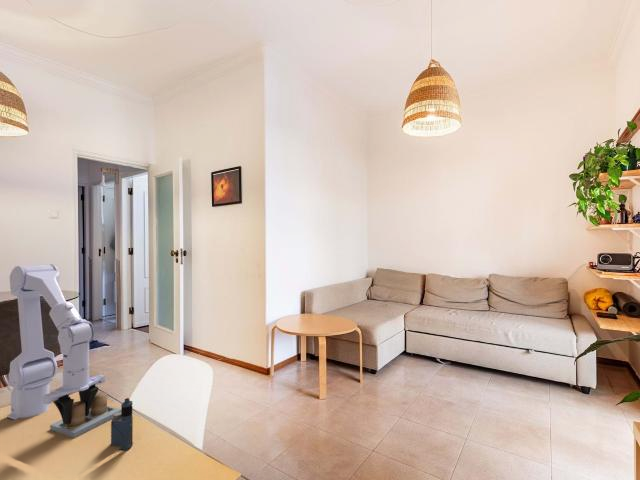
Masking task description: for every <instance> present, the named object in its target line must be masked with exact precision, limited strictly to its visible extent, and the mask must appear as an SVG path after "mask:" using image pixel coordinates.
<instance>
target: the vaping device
mask: <svg viewBox="0 0 640 480" xmlns="http://www.w3.org/2000/svg"><path fill="white" fill-rule="evenodd" d="M120 407H121V408H120V409H121V412H117V413H114V414H113V418H112V419H111V423H110V445H111V447H112V446H114V447H119V449H118V451H123V452H124V451H125V452H126V451H128V450H129V449H131V448H132V446H133V424H134V423H133V422H134V421H133V419H134V417H133V401H132V400H130V398H129V397H128V398H125V399H124V401H123V402H122V403H121V406H120Z"/></svg>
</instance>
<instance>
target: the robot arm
mask: <svg viewBox="0 0 640 480" xmlns="http://www.w3.org/2000/svg"><path fill="white" fill-rule="evenodd" d="M59 281H60V271H59V269H58V267H57V265H55V264H40V265H15V266H14V267H13V269H12V270H11V272H10V274H9V286H10V287H9V288H10V293H11V294H10V295H12V296H15V297H17V308H18V319H19V321H18V322H19V332H20V334H19V335H20V345H21V353H20V354H19V355H18V356H16V357H15V358H14V359H13V360H11V361H10V363H9V372H8V383H9V385H10V386H11V387H12V388H13V389H12V391H11V393H10V413H9V414H7V415H6V417H7V418H9V419H12V420H17V419H20V418H21V419H26V418H32V417H35V416H38V415H42V414H44V413H45V412H47V411H48V410H49V409H50V404H54V406H55V407H56V409H58V412H59V413H60V416H61V420H63V423H64V424H67V425H68V424H71V411H72V405H73V402H75V398H71V396H70V395H73V394H75V393H78V394H79V401H85V416H88V414H89V410H90V407H91V404H92V401H93V399H94V397H95V395H96V394H97V393H98V392H99V387H98V386H97V385H99V384H104V383H106V376H105V375H102V374H98V375H96V376H95V375H94V376H92V377H91V376H90V343H91V342H92V341H93V340H94V338H95V329H94V325H93V324H92V322H91V321H89V320H86V319H85V318H82V316H81V315H80V313H79V312H78V310H77V307H75V305H74V303H72V302H68V301H67V300H66V298H65V296H64V294H63V291H62V289H61V287H60V284H59ZM41 296H42V298H43V299H44V300H45V302H46V303H47V305H48V306H49V307H50V308H51V309H50V310H49V313H48V315H49V317H50V318H51V320H52V322H53V324H54V325H55V327H56V329H57V331H58V335H57V340H58V341H57V342H58V344H59V348H60V350H59V351H60V354H61V355H62V386H60V387H59V388H56V389H55V390H53V391H50V382H52V381H53V378H54V377H55V376H56V374H57V373H58V363H57V361H56V358H55V353H54V352H53V351H50V350H48V349H46V348H45V345H44V344H45V343H44V333H43V322H42V321H43V320H42V311H41V310H42V309H41V300H40V298H41Z"/></svg>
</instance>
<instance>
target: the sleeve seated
mask: <svg viewBox="0 0 640 480" xmlns="http://www.w3.org/2000/svg"><path fill="white" fill-rule="evenodd" d="M107 405H108V392H107V391H98V392H97V394H96V395H95V397H94V399H93V401H92V404H91V407H90V417H93V418H97V417H99V416H101V415H103V414H105V413H107V412H108V410H107Z"/></svg>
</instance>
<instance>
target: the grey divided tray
mask: <svg viewBox="0 0 640 480" xmlns="http://www.w3.org/2000/svg"><path fill="white" fill-rule="evenodd" d="M107 410H108V412H107V413H105V414H103V415H101V416H99V417H97V418H93V417H90V410H89V414H88V416H85V420H86V423H84V424H82V425H80V426H78V427H76V428H74V429H72V430H71V429H68V428H66V425H67V424H64V423H63V420H62V419H60V420H58V421H56V422H54V423H51V424H50V425H49V429H50V431H53V432H56V433H59V434H62V435H64V436H67V437H70V438H72V439H73V438H74V439H75V438H78V437H79V436H82V434H85V433H87V432H89V431H91V430H92V429H95V428H97V427H98V426H101V425H102V424H105V423H106V422H108V421H110V420H111V421H112V418H113V414H114V413H117V412H121V408H118V407H116V406H115V407H114V406H110V405H108V404H107Z"/></svg>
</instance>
